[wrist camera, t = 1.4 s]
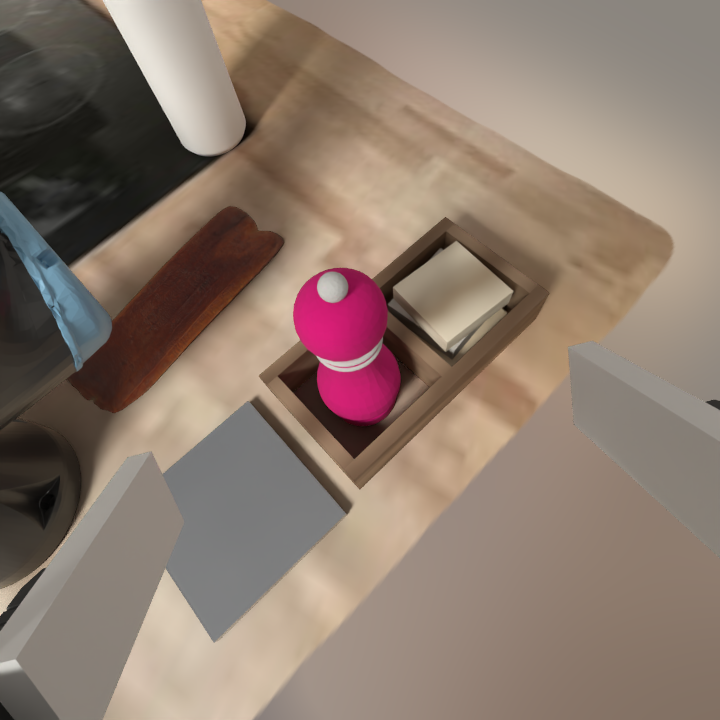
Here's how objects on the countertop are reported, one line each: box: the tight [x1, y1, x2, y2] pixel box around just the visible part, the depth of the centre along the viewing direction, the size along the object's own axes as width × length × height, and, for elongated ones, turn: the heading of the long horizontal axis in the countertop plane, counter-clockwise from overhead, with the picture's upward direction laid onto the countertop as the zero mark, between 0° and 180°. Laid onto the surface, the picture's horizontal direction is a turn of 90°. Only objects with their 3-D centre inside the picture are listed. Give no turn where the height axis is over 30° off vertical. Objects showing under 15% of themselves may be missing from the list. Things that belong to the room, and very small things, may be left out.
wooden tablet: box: [67, 206, 284, 413], centre depth 49 cm, size 27×10×2 cm, turn 142°
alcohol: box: [103, 0, 246, 157], centre depth 46 cm, size 9×9×30 cm
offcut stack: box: [388, 241, 513, 367], centre depth 43 cm, size 9×9×6 cm
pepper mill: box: [293, 268, 401, 426], centre depth 34 cm, size 7×7×20 cm
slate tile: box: [162, 401, 347, 642], centre depth 40 cm, size 14×14×1 cm
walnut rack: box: [259, 217, 549, 489], centre depth 42 cm, size 12×24×5 cm, turn 133°
